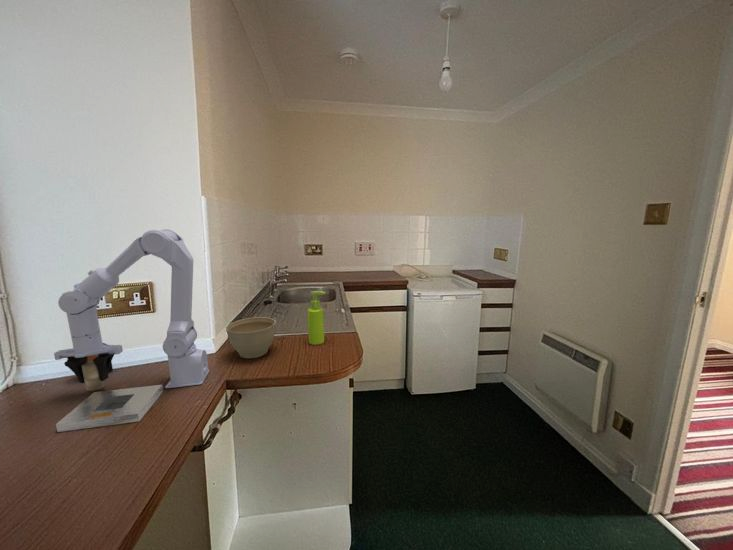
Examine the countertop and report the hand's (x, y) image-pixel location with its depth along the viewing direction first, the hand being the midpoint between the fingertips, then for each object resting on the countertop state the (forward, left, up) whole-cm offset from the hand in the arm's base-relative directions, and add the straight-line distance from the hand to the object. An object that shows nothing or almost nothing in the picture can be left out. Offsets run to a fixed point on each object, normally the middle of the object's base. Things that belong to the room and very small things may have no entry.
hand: (94, 380), depth 82 cm
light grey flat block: (-10, +11, -3) cm, 15 cm away
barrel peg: (0, 0, -2) cm, 2 cm away
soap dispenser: (-62, -21, -4) cm, 65 cm away
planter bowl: (-39, -16, -4) cm, 42 cm away
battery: (+6, -11, -4) cm, 13 cm away
